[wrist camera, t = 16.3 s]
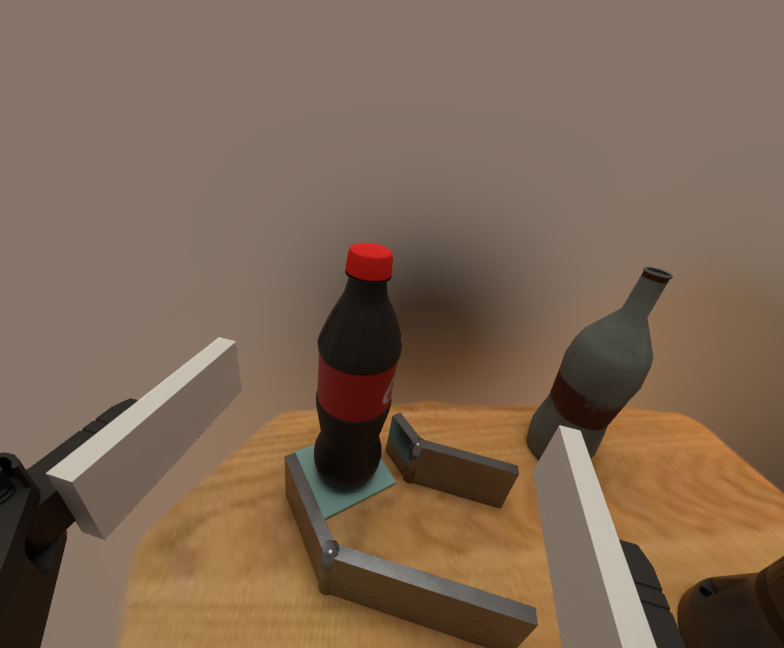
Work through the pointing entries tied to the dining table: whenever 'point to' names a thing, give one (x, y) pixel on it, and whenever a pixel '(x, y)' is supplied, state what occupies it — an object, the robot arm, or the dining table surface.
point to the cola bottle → (356, 371)
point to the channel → (404, 584)
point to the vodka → (601, 370)
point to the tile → (338, 499)
